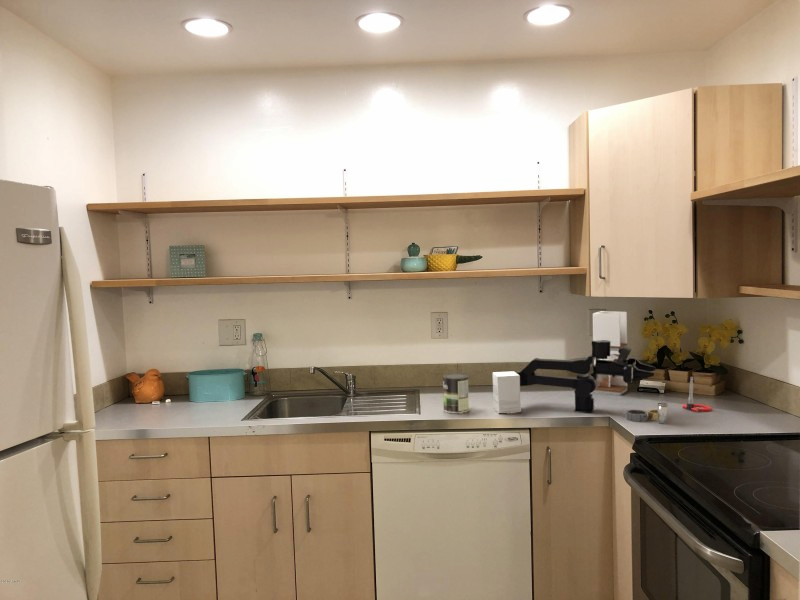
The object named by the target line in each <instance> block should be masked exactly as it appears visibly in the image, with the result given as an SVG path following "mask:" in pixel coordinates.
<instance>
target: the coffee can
mask: <svg viewBox="0 0 800 600" xmlns="http://www.w3.org/2000/svg"><path fill="white" fill-rule="evenodd" d="M442 386H443V387H442V388H443V390H442V392H443V393H442V394H443V396H442V397H443V412H445V413H447V412H448V414H453V413H459V414H464V413H463V412H465V413H467V411H468V410H469V409H470V408H469V407H470V405H469V404H470V403H469V401H470V400H469V398H470V397H469V375H468V374H465V373H462V372H461V373H460V372H459V373H457V372H454V373H445V374H443V375H442ZM469 411H470V410H469ZM469 411H468V412H469Z"/></svg>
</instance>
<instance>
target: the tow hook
mask: <svg viewBox="0 0 800 600" xmlns="http://www.w3.org/2000/svg"><path fill="white" fill-rule="evenodd" d="M693 378H694V377H693V376H690V381H689V391H688V394H689V395H688V402H687V403H686V404H682V409H684V408H685V410H688V411H690V410H691V412H695V413H699V412H711V411H712V407H711V406H708V405H704V404H695V403H694V397H693V395H694V394H693V393H694V381H693V380H694V379H693ZM701 407H703V408H701Z"/></svg>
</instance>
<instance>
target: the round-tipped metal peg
mask: <svg viewBox="0 0 800 600" xmlns="http://www.w3.org/2000/svg"><path fill="white" fill-rule="evenodd" d="M657 410H658V421H657V423H658V422H659V423H658V424H660V423H667V424H668V402H661V401H660V402H658V403H657Z"/></svg>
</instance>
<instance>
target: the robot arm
mask: <svg viewBox="0 0 800 600" xmlns="http://www.w3.org/2000/svg"><path fill="white" fill-rule="evenodd" d="M610 347H611V341H608V340H601V341H593V340H592V341H591V354H590V355H589V356H588V357H585V356H583V357H577V358H571V359H558V358H557V359H553V358H552V359H551V358H538V357H535V358H533V359H531V361H530V362H529V363H528V365H526V366H525V367H524V368H522V369H519V370H518V371H517V372H515V373H517V374H518V375H520V387H528V386H533V385H542V386H551V387H559V388H560V387H561V388H571V389H574V409H573V410H574V411H573V412H577V411H578V412H579V413H580V412H581V413H589V414H590V413H593V411H594V410H595V398H594V397H593V395H594V394H593V393H594V392H593V391H594V390H595V388H596V387H597V385H598V381H597V378H598V375H610V376H612V377H615V376H622V377H623V381H624V382H625V383H627V384H632V383H636V382H638V381H641V380H644V379H647V378H648V379H649V378H652V377H654V376H655V372H653V371H656V366H652V365H649V364H645V363H642V362H641V361H639V359H638V358H637V357H636V356H629V355H630V353H631V351H632V348H629V347H628V346H627V347H625V346H623V348H619V351H618V352H619V353H620V354H619V357H618V359H614V360H613V361H611V360H598V359H607V357H608V356H610ZM595 357H596V364H595V365H594V364H593V363H594V360H595ZM537 370H550V371H551V370H553V371H554V370H556V371H567V372H570V373H573V374H576V376H565V375H564V376H563V375H554V374H553V375H552V374H551V375H550V374H542V373H536V371H537ZM591 370H592V372H591V373H589V372H590V371H591Z"/></svg>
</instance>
